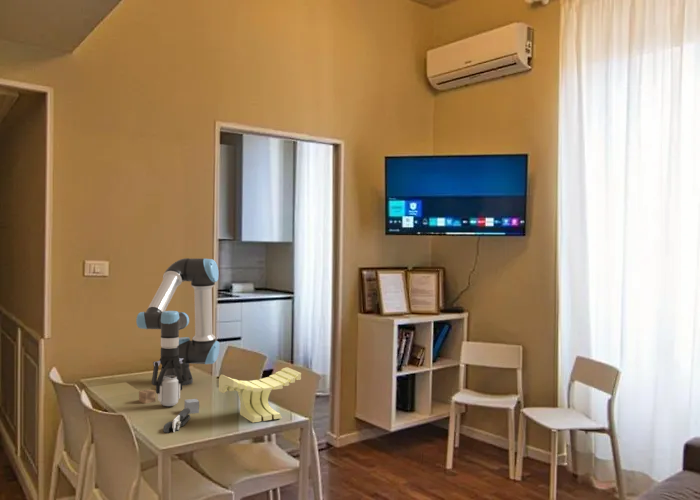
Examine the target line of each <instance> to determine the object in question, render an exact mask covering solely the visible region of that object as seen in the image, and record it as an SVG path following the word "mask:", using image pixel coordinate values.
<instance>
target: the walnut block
mask: <svg viewBox="0 0 700 500" xmlns="http://www.w3.org/2000/svg"><path fill="white" fill-rule="evenodd" d="M156 395H157V393H156V390H153V389H144V390H140V391H138V402H139V403H142V404H150V403H155V402H156Z"/></svg>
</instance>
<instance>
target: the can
mask: <svg viewBox="0 0 700 500" xmlns="http://www.w3.org/2000/svg"><path fill="white" fill-rule="evenodd" d="M160 385H161V386H162V401H159V404H160V405H162V406H164V407H172V406H176V404H178V403H179V399H178V379H177V377H176V376H164V377H163V379H162V382H161V384H160Z"/></svg>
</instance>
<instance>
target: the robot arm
mask: <svg viewBox="0 0 700 500" xmlns="http://www.w3.org/2000/svg"><path fill="white" fill-rule="evenodd" d="M219 273H220V272H219V267H218V264H217V262H216V261H215V260H214V259H212V258H205V257H204V258H202V257H201V258H189V257H188V258H187V257H185V258H180V259H178V260H176V261H174V262H173V263H171V265H169V266H168V267H167V269H166V270H165V271H164V272H163V276H162V280H161V283H160V285H159V287H158V289H157V290H156V292H155V294H154V296H153V298H152V300H151V302H150V303H149V305H148V307H147V309H146V311H140V312H138V314H137V316H136V326H137V328H138V329H140V330H141V329H142V330H160V359H159V360H157V361H153V362H152V364H153V370H152V376H151V385H153V386H155V391H156V395H157V401H159V402H160V401H162V386H161V385H160V384H161V382H162V379H163V377H164V376H176V377H177V379H178V400H179V399H181V391H183V387H184V386H188V385H191V384H193V382H194V381H193V380H194V379H193V378H194V377H193V375H192V372H191V368H190V365H191V364H192V365H193V364H196V365H197V364H199V365H214V364H215V363H216V362H217V360H218V358H219V354H220V347H221V346H220V342H219V341H218V340H217V339H216V336H215V335H214V334H213V288H214V287H215V285H216V283H217V282H218V281H219ZM184 282H190V285H191V287H192V288H193V290H194V291H193V293H194V331H195V332H194V333H195V334H194V336H193V337H192V340H191V338H190V337H189V336H187V337H186V336H185V337H180V336H179V334H180V330H184V329H185V328H186V327H187V326H188V325H189V324H190V318H189V315H188V314H187V313H186V312H184V311H183V312H182V311H177V310H167V308H168V305H169V304H170V302H171V300H172V298H173V297H174V294H175V293H176V291H177V288H178V287H179V286H180V285H182V283H184ZM160 364H161V366H160ZM159 366H160V367H161V368H160V371H159ZM158 373H159V374H158Z"/></svg>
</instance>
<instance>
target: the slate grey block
mask: <svg viewBox="0 0 700 500" xmlns="http://www.w3.org/2000/svg"><path fill="white" fill-rule="evenodd" d="M183 404H184V406H183V407H184V408H183V409H186V408H188V409H190V413H189V414H188V415H190V414H192V415H193V414H199V413H200V401H199V399H198V398H191V399H189V398H188V399H184V403H183Z"/></svg>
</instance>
